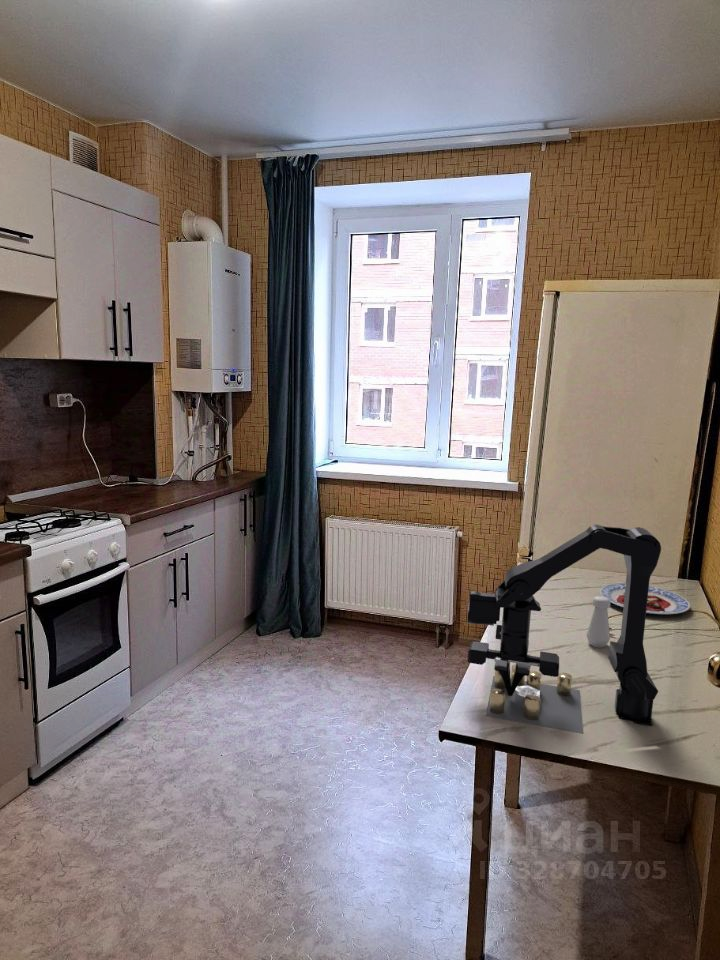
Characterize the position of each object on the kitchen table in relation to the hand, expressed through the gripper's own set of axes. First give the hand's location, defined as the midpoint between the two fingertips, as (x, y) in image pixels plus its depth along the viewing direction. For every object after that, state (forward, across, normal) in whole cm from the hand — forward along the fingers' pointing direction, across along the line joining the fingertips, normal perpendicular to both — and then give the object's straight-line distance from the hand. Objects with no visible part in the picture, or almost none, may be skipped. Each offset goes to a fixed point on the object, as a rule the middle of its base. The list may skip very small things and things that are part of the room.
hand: (510, 695), depth 135 cm
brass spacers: (+1, -4, -1) cm, 5 cm away
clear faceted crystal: (+1, -4, 0) cm, 4 cm away
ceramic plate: (+2, -36, -76) cm, 84 cm away
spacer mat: (+1, -5, 0) cm, 5 cm away
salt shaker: (+2, -20, -38) cm, 43 cm away
